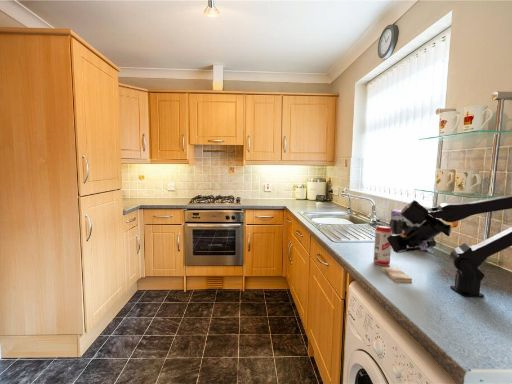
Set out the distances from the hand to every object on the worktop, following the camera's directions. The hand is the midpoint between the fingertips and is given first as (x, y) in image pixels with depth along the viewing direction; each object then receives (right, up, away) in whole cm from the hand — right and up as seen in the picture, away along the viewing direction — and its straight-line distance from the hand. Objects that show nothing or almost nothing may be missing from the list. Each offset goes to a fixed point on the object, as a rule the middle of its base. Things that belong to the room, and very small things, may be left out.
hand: (397, 251), depth 103 cm
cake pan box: (+23, -4, +33) cm, 41 cm away
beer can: (-2, -7, +8) cm, 11 cm away
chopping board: (-3, -8, -4) cm, 9 cm away
